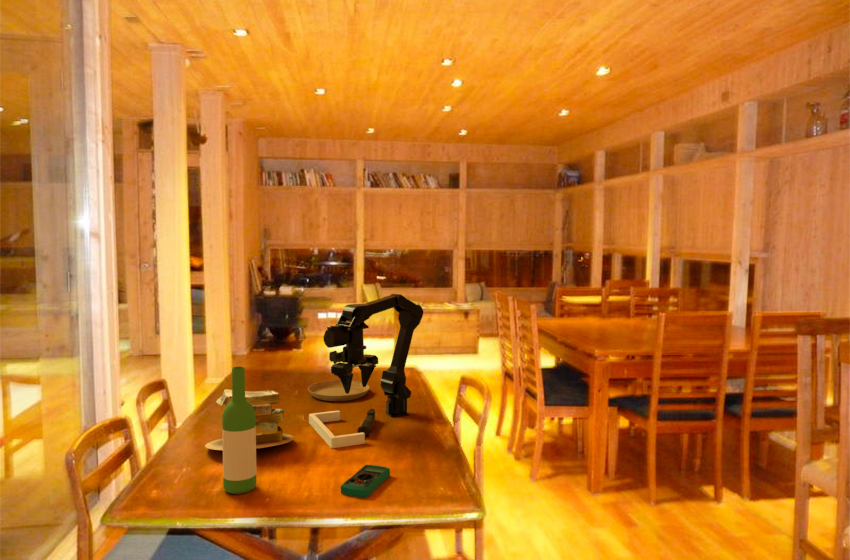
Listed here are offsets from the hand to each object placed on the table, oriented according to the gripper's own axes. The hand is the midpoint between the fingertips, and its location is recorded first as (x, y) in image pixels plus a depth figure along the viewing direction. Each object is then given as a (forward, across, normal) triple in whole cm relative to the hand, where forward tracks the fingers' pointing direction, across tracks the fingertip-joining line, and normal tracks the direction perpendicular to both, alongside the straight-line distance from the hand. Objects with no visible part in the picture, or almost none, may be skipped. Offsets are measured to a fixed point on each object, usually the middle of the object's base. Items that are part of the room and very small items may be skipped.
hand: (355, 390), depth 196 cm
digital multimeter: (+12, +38, +31) cm, 50 cm away
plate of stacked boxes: (+11, +34, -14) cm, 38 cm away
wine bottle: (+10, +56, +6) cm, 57 cm away
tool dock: (+11, +10, 0) cm, 15 cm away
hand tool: (+12, +2, +5) cm, 13 cm away
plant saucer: (+13, -28, -29) cm, 42 cm away
